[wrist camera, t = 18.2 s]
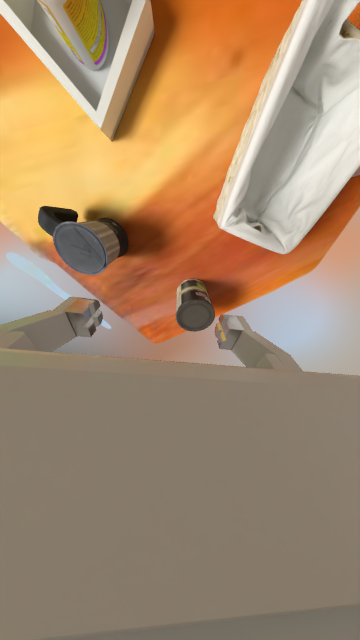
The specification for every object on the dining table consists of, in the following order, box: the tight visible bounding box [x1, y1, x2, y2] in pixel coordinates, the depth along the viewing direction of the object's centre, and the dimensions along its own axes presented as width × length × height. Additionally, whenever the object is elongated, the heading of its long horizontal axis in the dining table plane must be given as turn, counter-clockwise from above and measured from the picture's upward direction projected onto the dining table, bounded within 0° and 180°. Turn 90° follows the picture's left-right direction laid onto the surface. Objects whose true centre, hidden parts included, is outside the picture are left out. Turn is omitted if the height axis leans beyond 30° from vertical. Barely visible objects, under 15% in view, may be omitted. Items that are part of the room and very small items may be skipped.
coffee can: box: [176, 279, 215, 331], centre depth 41 cm, size 10×10×14 cm
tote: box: [0, 0, 155, 141], centre depth 19 cm, size 14×14×5 cm
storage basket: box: [213, 0, 360, 254], centre depth 24 cm, size 24×16×15 cm
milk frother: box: [38, 206, 128, 275], centre depth 32 cm, size 14×16×15 cm
